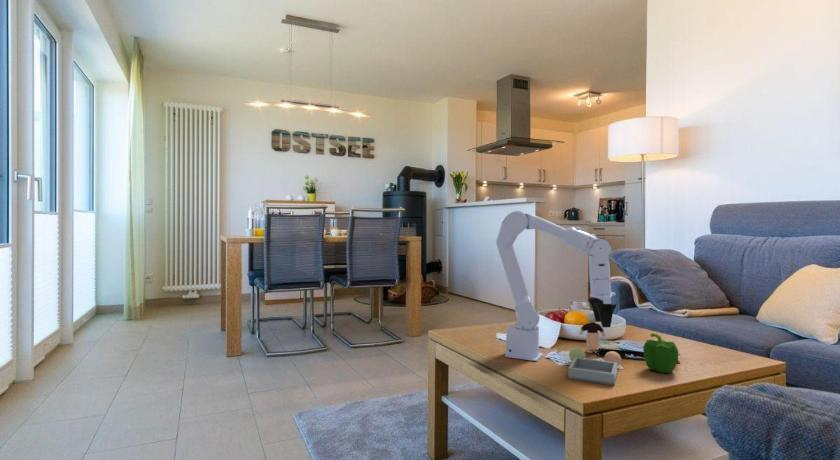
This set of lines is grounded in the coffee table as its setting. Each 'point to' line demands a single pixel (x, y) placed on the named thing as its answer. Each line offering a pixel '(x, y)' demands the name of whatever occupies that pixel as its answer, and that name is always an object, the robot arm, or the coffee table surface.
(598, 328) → the grandmother figurine
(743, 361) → the coffee table surface
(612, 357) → the terracotta ball
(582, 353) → the olive ball
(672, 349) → the bell pepper
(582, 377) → the dish
